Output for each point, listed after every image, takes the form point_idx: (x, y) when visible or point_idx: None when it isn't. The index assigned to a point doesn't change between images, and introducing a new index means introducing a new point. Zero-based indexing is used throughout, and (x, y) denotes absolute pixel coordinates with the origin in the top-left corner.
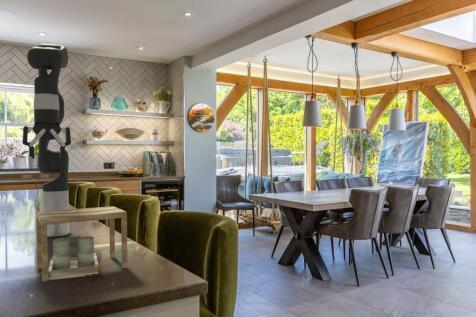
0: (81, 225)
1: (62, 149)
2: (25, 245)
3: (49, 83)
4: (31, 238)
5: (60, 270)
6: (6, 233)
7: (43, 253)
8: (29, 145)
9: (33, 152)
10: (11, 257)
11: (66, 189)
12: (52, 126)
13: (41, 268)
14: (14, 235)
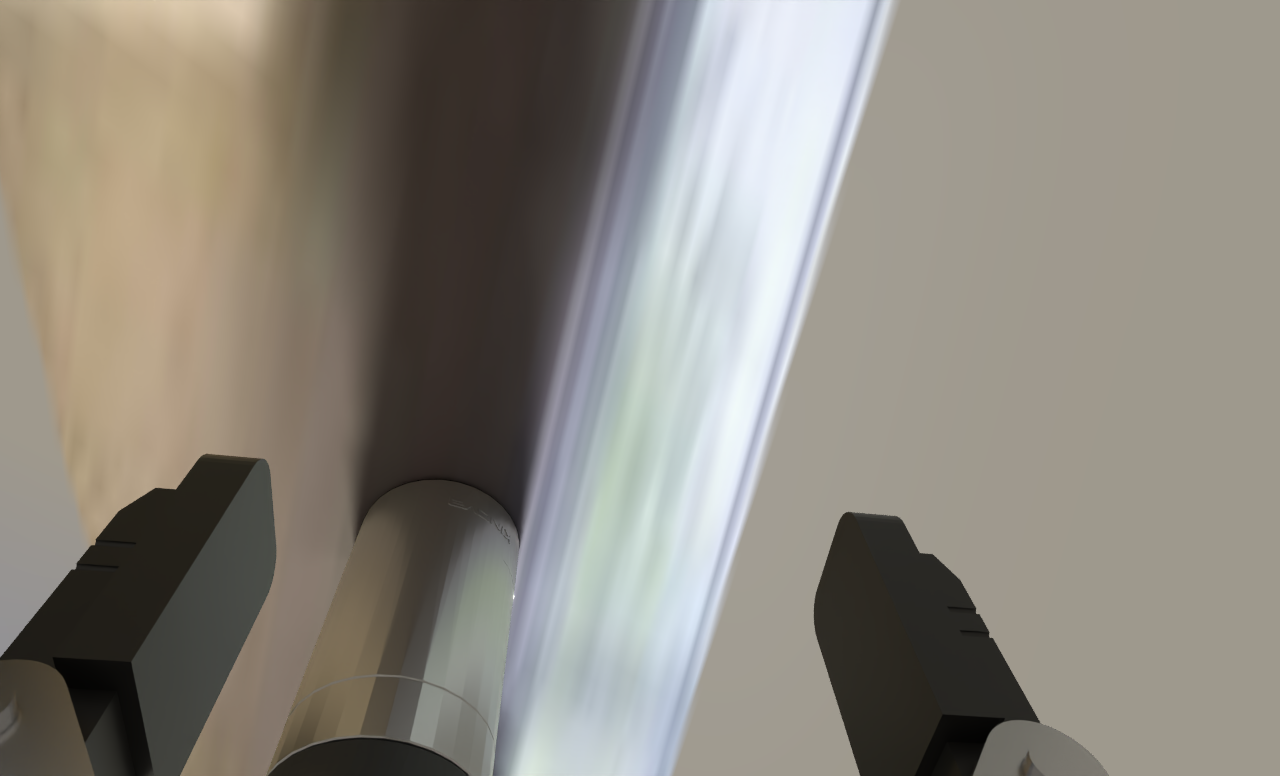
0: (248, 713)
1: (111, 594)
2: (672, 354)
3: None
4: (594, 526)
5: None
6: (675, 723)
7: None
8: (1094, 757)
9: (908, 596)
10: (836, 51)
11: (280, 768)
12: None
13: None
14: (653, 654)
